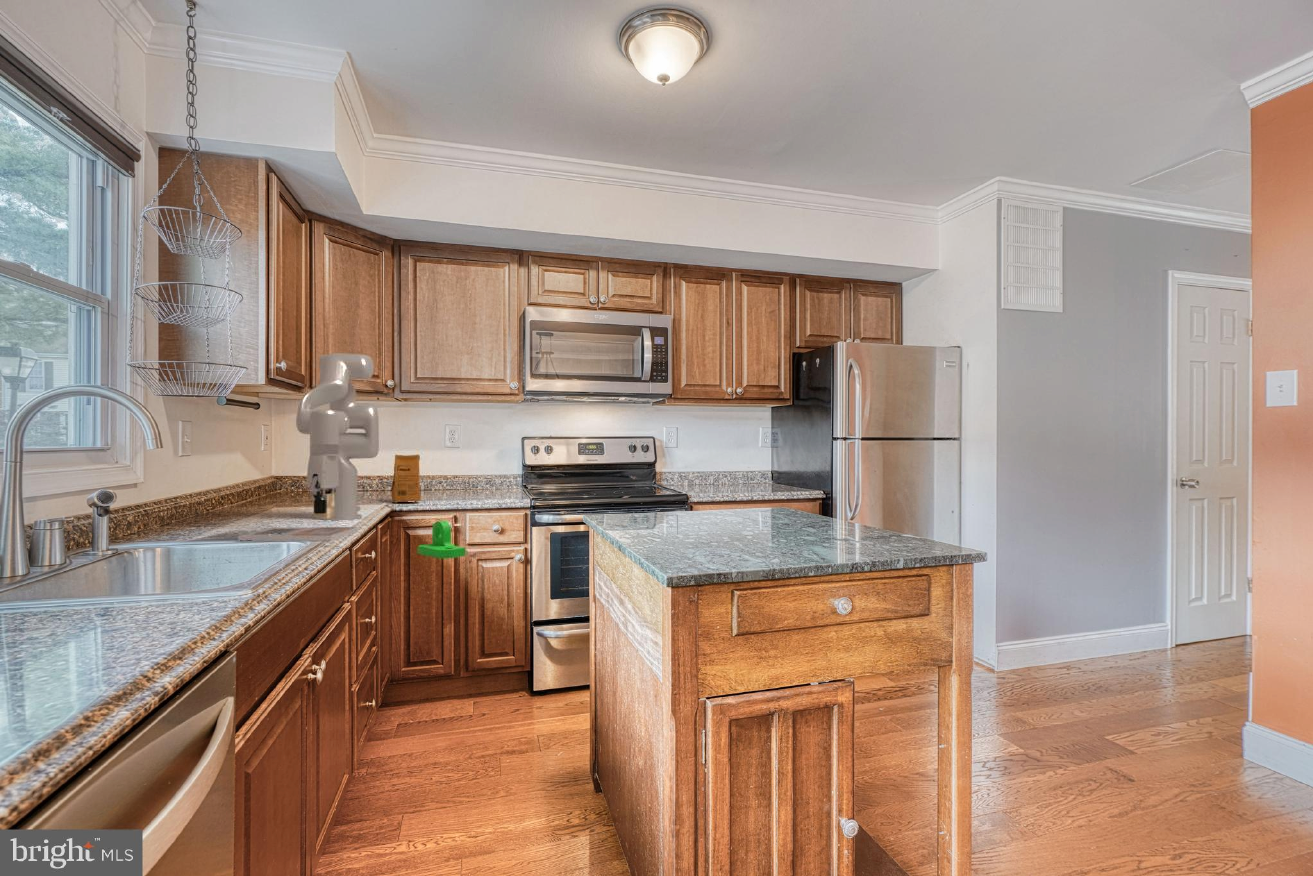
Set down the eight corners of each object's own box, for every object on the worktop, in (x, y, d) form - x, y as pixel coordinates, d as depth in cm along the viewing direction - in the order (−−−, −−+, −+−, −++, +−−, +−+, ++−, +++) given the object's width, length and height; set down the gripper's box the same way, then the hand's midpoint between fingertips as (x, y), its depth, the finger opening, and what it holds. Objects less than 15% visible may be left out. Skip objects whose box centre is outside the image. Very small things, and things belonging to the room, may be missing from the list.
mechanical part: (417, 553, 152) (417, 522, 152) (439, 550, 157) (439, 519, 157) (443, 559, 144) (443, 526, 144) (465, 555, 149) (465, 523, 149)
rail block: (272, 532, 185) (272, 527, 185) (357, 532, 186) (357, 526, 186) (237, 541, 169) (237, 535, 169) (331, 540, 170) (331, 534, 170)
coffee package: (391, 501, 277) (391, 454, 277) (420, 500, 282) (420, 454, 282) (390, 503, 268) (390, 454, 268) (420, 502, 272) (420, 454, 272)
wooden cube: (320, 517, 179) (320, 493, 180) (334, 516, 180) (334, 493, 180) (313, 518, 175) (313, 494, 176) (327, 518, 176) (327, 494, 176)
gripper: (326, 450, 186) (326, 509, 186) (295, 451, 169) (295, 515, 169) (350, 450, 186) (350, 509, 186) (322, 451, 170) (322, 515, 169)
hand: (324, 511), depth 178 cm, fingers closed on wooden cube, 4 cm apart
